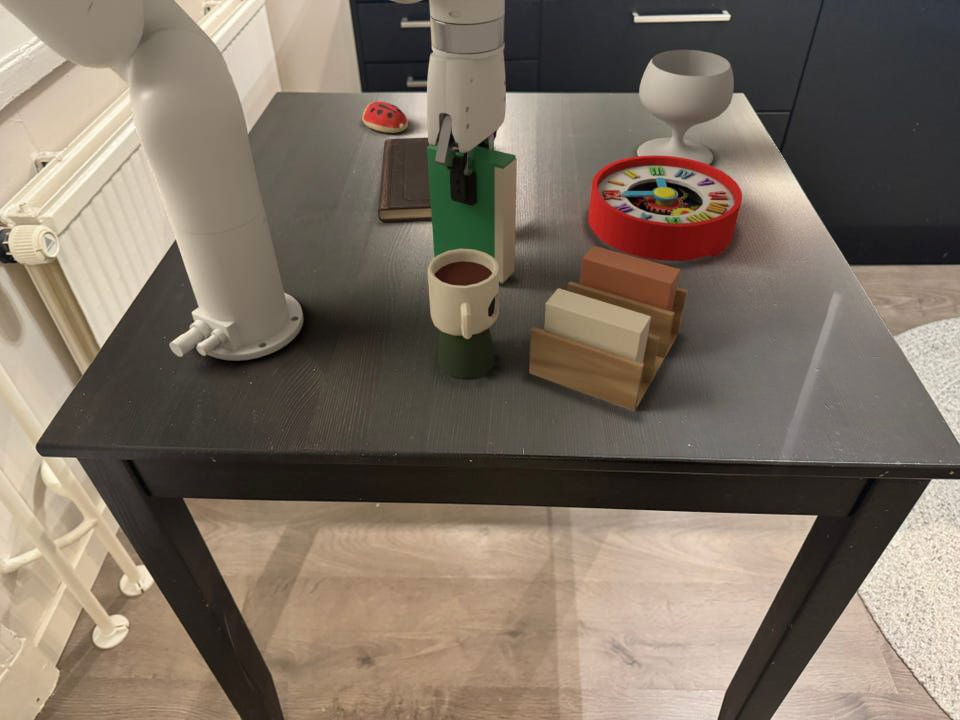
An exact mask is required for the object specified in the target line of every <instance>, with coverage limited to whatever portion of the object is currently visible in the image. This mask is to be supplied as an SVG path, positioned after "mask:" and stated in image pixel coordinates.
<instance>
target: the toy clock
mask: <svg viewBox="0 0 960 720" xmlns="http://www.w3.org/2000/svg"><path fill="white" fill-rule="evenodd" d="M742 202H743V193H742V189H741V187H740V185H739V184H738V183H737V181H735V179H733V177H731V176H730V175H728V174H727V173H726V172H725V171H722V169H719V168H717V167H715V166H713V165H711V164H709V165H707V164H705V163H702V162H698V161H695V160H691V159H686V158H681V157H673V156H659V155H650V156H638V155H636V156H630V157H627V158H622V159H618V160H615V161H613V162H610V163H609V164H607V165H604V166H603V167H602V168H600V169H599V170H598V171H597V172H596V173H595V174H594V176H593V177H592V181H591V189H590V200H589V207H588V208H589V209H588V218H587V219H588V220H587V224H588V225H589V226H590V228H591V230H592V231H593V233H594V234H595V235H596V236H597V238H599V239H600V240H601V241H603V242H604V243H605V244H607V245H609V246H610V247H612V248H614V249H616V250H618V251H620V252H622V253H624V254H627V255H630V256H633V257H638V258H642V259H647V260H656V261H669V262H675V261H678V262H679V261H690V260H691V261H692V260H697V259H701V258H705V257H713V258H716V257H718V256H719V255H721V254H722V253H724V252H725V251H727V249H728V248H729V247H730V246H731V243H732V241H733V239H734V235H735V232H736V231H735V230H736V227H737V222H738V219H739V214H740V211H741V206H742Z"/></svg>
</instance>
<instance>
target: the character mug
mask: <svg viewBox="0 0 960 720" xmlns="http://www.w3.org/2000/svg"><path fill="white" fill-rule="evenodd" d="M427 282H428V283H427V284H428V296H429V297H428V298H429V311H430V318H431V321H432V323H433V325H434V327H436V328H437V329H438V330H439V331H440V332H439V339H438V351H437V352H438V353H437V354H438V355H437V361H438V367H439V368H440V370H441V372H443V374H445V375H447V376H449V377H453V378H457V379H467V380H469V379H477V378H480V377H483V376H484V375H486V374H487V373H489V372H491V370H492V368H493V367H494V366H495V356H494V346H493V339H492V334H491V326H492V325H494V324H495V323H496V321H498V320H497V319H498V318H499V315H500V313H499V312H500V286H499V285H500V284H499V265H498V263H497V261H496V260H495V259H494V258H493V257H492V256H490V255H488V254H487V253H484V252H481V251H478V250H473V249H456V250H450V251H447V252H444V253H442V254H440V255H437V256H436V257H435V258H434V257H433V258H432V260H430V262H429V264H428V267H427Z"/></svg>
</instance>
